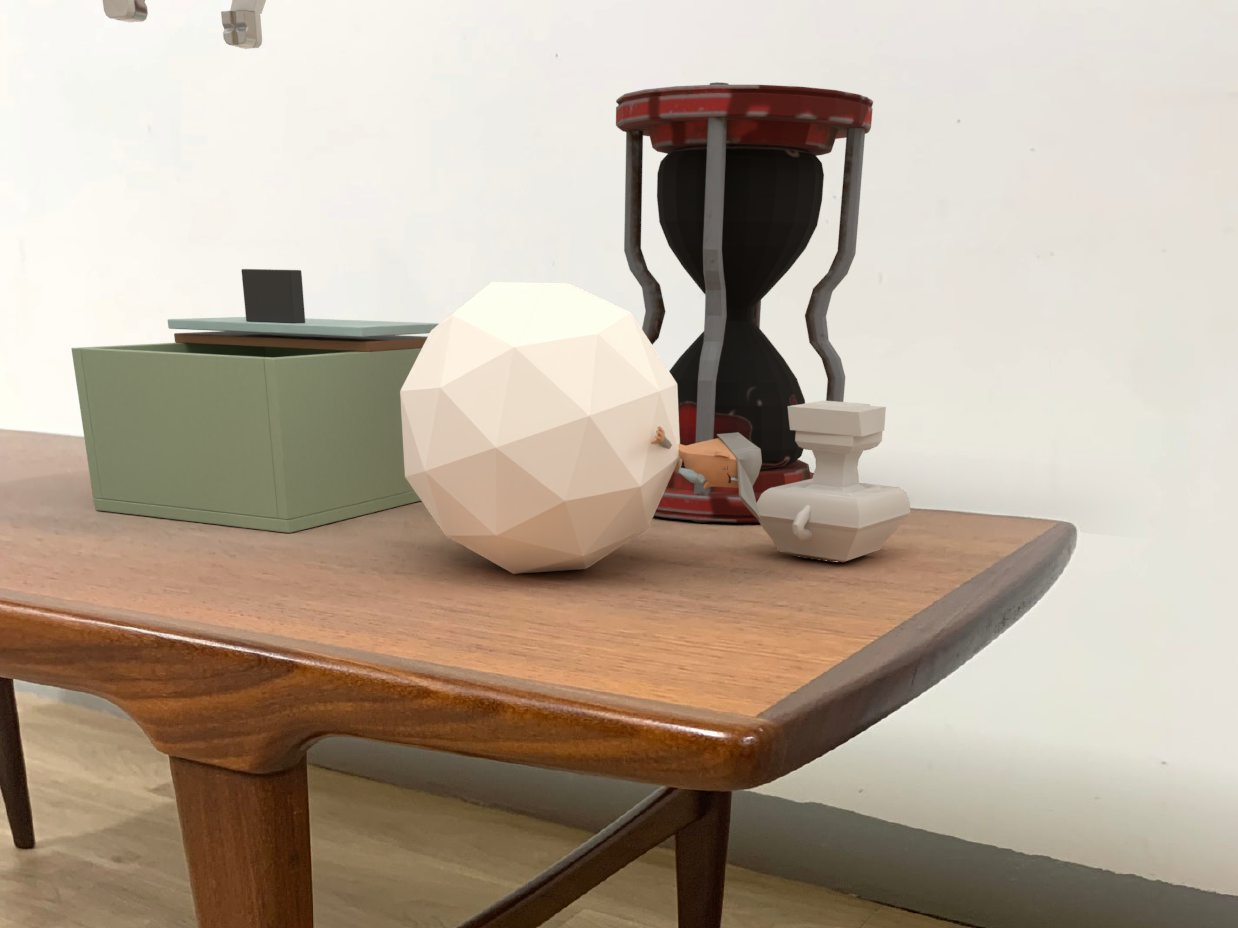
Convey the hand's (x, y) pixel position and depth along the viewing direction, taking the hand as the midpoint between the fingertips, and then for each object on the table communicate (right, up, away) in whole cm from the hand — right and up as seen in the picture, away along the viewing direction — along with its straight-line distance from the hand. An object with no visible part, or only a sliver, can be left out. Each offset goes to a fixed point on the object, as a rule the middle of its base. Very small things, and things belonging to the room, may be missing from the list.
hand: (188, 34), depth 74 cm
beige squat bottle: (+37, -30, 0) cm, 48 cm away
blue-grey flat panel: (+3, -12, +14) cm, 18 cm away
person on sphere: (+22, -32, -5) cm, 39 cm away
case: (+1, -23, +15) cm, 27 cm away
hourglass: (+32, -23, +17) cm, 43 cm away
